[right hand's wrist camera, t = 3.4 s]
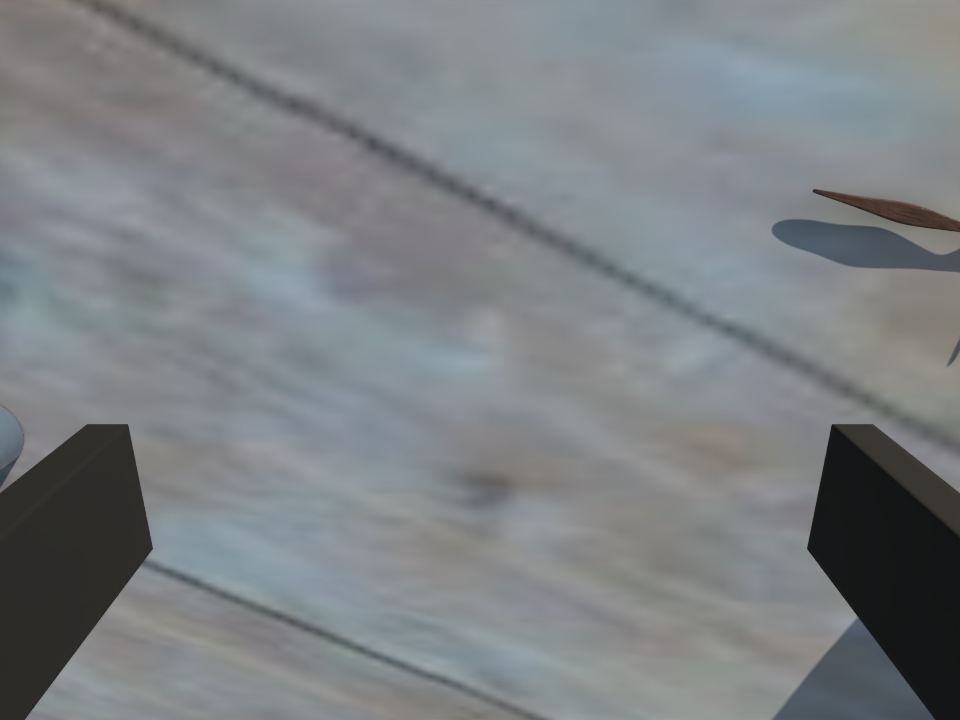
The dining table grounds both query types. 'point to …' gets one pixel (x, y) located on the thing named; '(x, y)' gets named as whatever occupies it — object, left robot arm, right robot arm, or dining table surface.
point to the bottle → (9, 438)
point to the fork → (896, 211)
